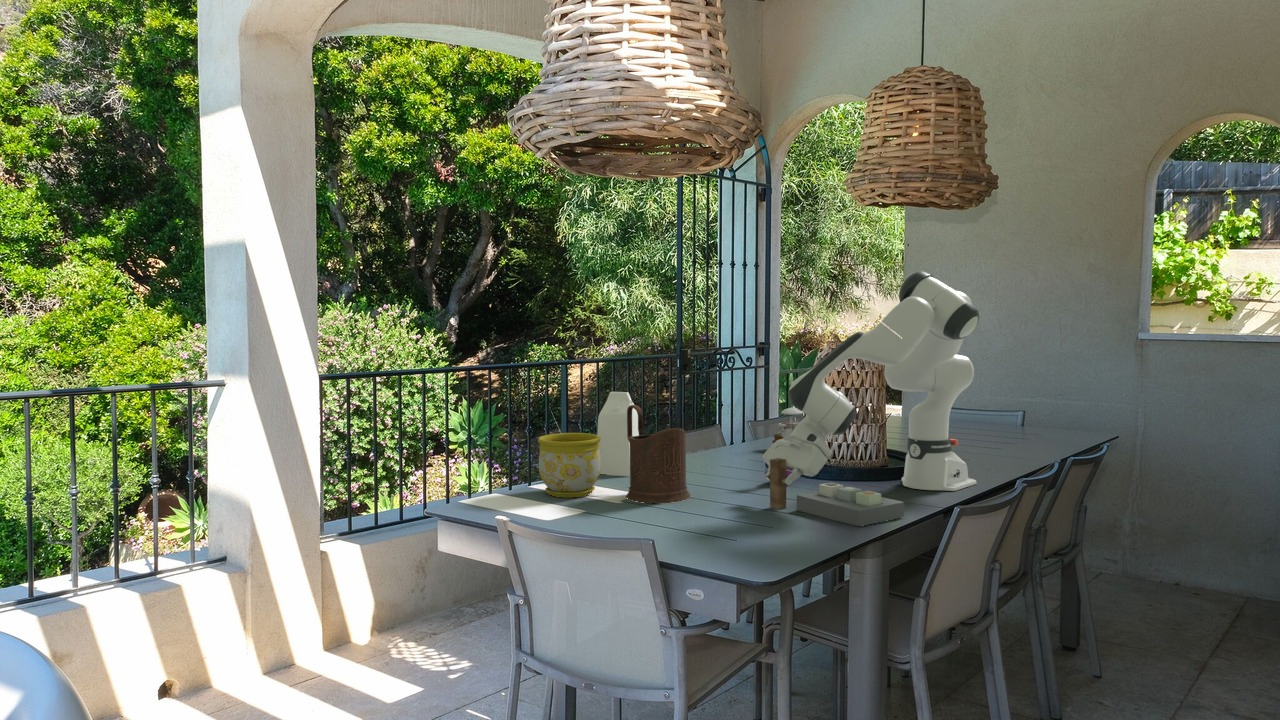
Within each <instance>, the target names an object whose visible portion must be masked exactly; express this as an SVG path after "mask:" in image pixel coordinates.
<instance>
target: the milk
mask: <svg viewBox="0 0 1280 720" xmlns="http://www.w3.org/2000/svg"><path fill="white" fill-rule="evenodd" d="M630 405H635V404H634V402H633V400H632V398H631V395H630V393H629V391H627V392H626V391H625V392H624V391H610V392H609V394H608V396H607V400H606V401H605V403H604V405H603V407H602V409H601V410H600V412H599V414H598V418H597V433H596V435H598V436H600V438H601V440H600V442H599V446H600V447H599V453H600V462H601V466H600V473H599V475H600V474H606V475H605V476H613V477H614V476H617V477H629V476H630V443H629V440H628V437H627V408H628V407H629V406H630ZM632 436H639V432H638V414H637V411H636V410H635V409H634V408H633V409H632Z"/></svg>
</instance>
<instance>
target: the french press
mask: <svg viewBox="0 0 1280 720" xmlns="http://www.w3.org/2000/svg"><path fill="white" fill-rule="evenodd" d="M793 382H794V381H790V382H789V385H790V386H791V384H792V383H793ZM780 413H781V415H787V416H789V415H790V416H791V417H790V419H789V420H790V421H783V422H781V424H785V425H787V429H786V430H784V429H782V430H781V431H780V432H781V434H780V435H782V436H784V437H787V438H789V436H790V434H791V433H792V432H793V430H794V429H795V428H796V426H797V425H798V424H799V422H800V421H797V419H796V416H795V415H803V414H804V412H802V411H800V410H798V409H797V408H795V407H794V406H792V405H791V407H789V408H788V407H787V408H785V409H783V410H781V412H780ZM793 415H794V416H795V417H794V419H793Z"/></svg>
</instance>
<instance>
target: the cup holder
mask: <svg viewBox="0 0 1280 720" xmlns="http://www.w3.org/2000/svg"><path fill="white" fill-rule="evenodd" d="M633 408H634V409H635V410H636V411H637V414H638V432H639V436H632V409H633ZM686 435H687V434H686V430H685V429H684V428H681V427H675V428H668V429H663V430H659V431H658V432H656V433H651V434H645V432H644V414H643V410H642V408H641V407H640V406H638V405H637V404H634V405H630V406H629V407H628V408H627V437H628V440H629V443H630V477H629V484H630V485H629V487H628V489H629V490H628V492H627V494H626V495H625V498H626V497H627V498H628V499H630V500H633V501H638V502H644V503H671V502H678V501H682V500H686V499H688V498H690V496H691V494H690V492H689V491H688V486H687V471H686V470H687V465H686V464H687V461H686V459H687V457H686V456H687V455H686V454H687V453H686V448H687V447H686ZM690 499H691V498H690ZM686 501H687V500H686ZM678 503H679V502H678ZM671 504H672V503H671Z"/></svg>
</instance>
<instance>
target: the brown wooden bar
mask: <svg viewBox="0 0 1280 720" xmlns="http://www.w3.org/2000/svg"><path fill="white" fill-rule="evenodd" d="M785 476H786V460H785V459H781V458H776V459H770V480H769V507H770V509H775V510H783V509H787V485H785V484H784V483H783V479H784V478H785Z"/></svg>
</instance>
